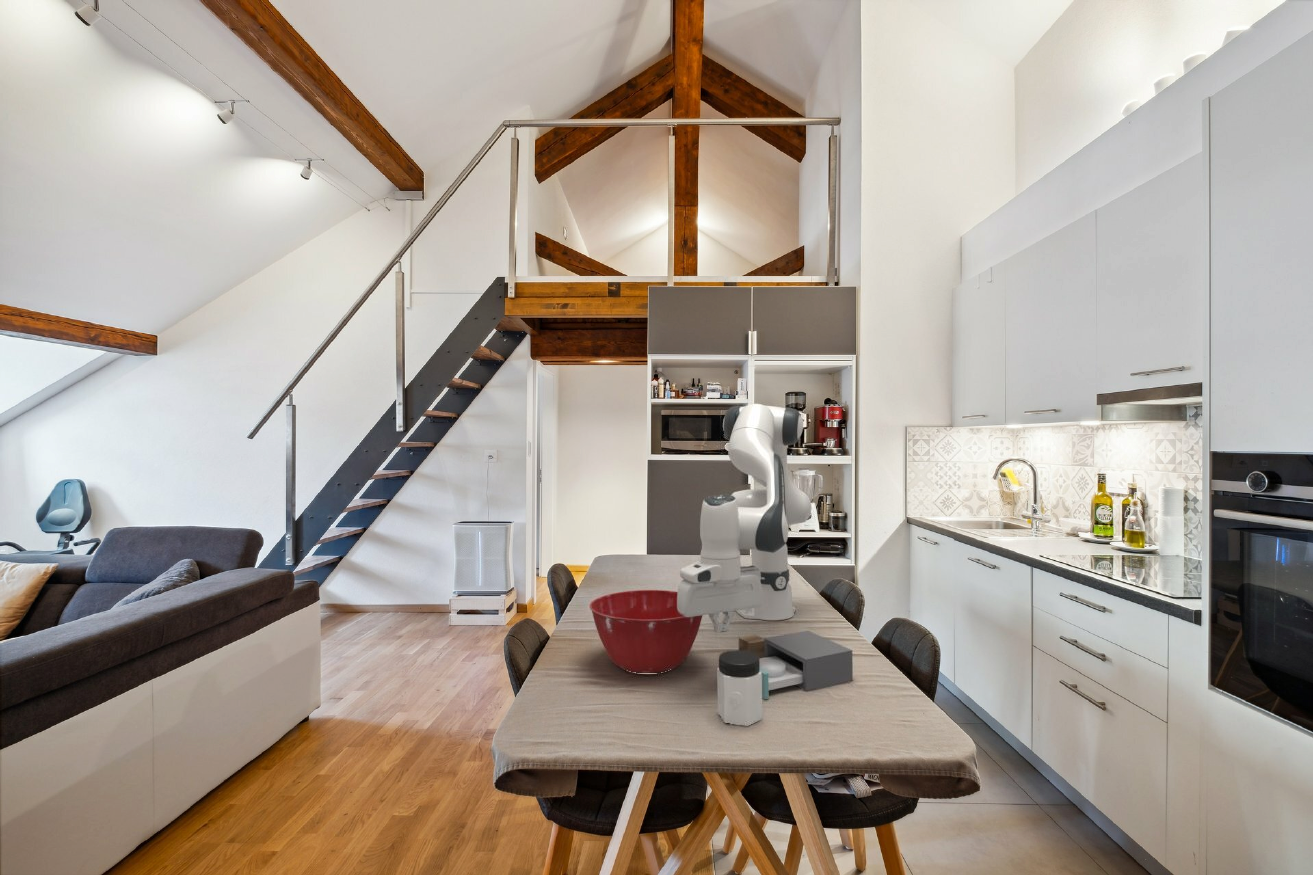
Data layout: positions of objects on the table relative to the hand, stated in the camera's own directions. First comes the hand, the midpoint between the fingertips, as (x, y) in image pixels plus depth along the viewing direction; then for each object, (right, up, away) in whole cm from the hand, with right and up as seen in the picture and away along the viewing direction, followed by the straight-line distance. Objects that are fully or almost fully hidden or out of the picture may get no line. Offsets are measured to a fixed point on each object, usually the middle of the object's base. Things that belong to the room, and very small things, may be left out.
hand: (721, 631), depth 138 cm
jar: (+2, -13, -13) cm, 19 cm away
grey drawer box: (+21, -13, +9) cm, 26 cm away
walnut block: (+10, -13, +19) cm, 25 cm away
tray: (+11, -13, +4) cm, 17 cm away
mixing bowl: (-16, -13, +16) cm, 26 cm away
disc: (+12, -11, +5) cm, 17 cm away
